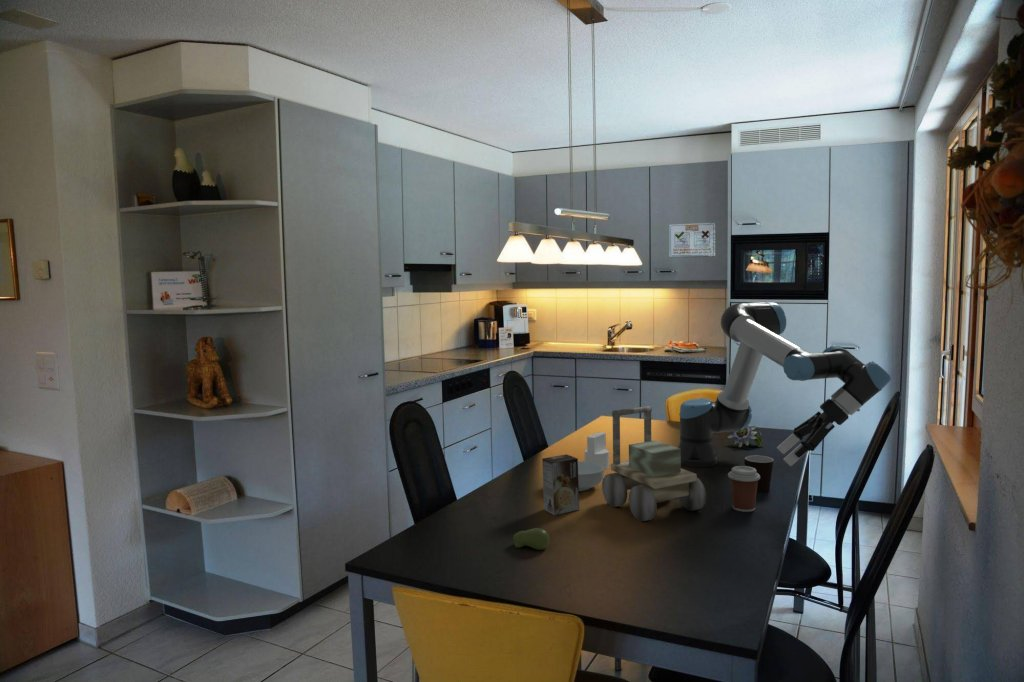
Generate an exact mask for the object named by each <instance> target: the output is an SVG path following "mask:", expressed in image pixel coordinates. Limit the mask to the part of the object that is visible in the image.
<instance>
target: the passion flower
mask: <svg viewBox="0 0 1024 682" xmlns="http://www.w3.org/2000/svg"><path fill="white" fill-rule="evenodd" d="M756 428H757V425H753V426H752V425H751V426H749V425H748V426H747V427H746V428H745V429H743V430H738V431H735V432H732V431H731V432H730V434H729V435H727V437H726V438H727V439H733V440H734V442H733V444H734V446H735V445H738V448H742V447H743V445H744V444H745V446H747V447H748V446H749V445H750V441H751V440H753V441H754V442H755V443H756V445H757V447H758V448H761V447H762V445H764V443H763V439H762V438H761V436H763V434H762V433H761V431H760V430H755V429H756ZM757 434H759V436H758V435H757Z"/></svg>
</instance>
